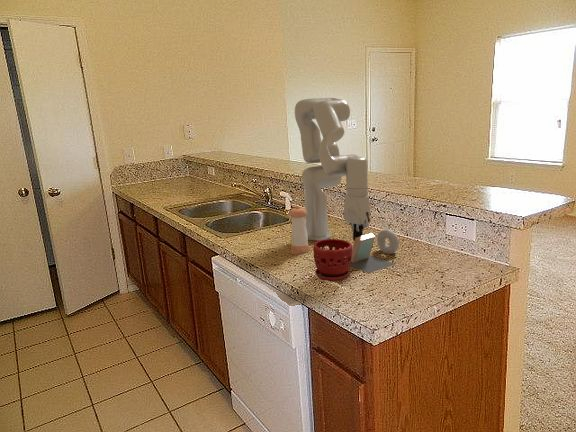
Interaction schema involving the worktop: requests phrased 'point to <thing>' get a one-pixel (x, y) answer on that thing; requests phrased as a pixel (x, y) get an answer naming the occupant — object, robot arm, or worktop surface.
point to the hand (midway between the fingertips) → (357, 240)
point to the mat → (371, 264)
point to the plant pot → (332, 259)
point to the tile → (362, 247)
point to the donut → (392, 238)
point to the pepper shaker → (299, 231)
